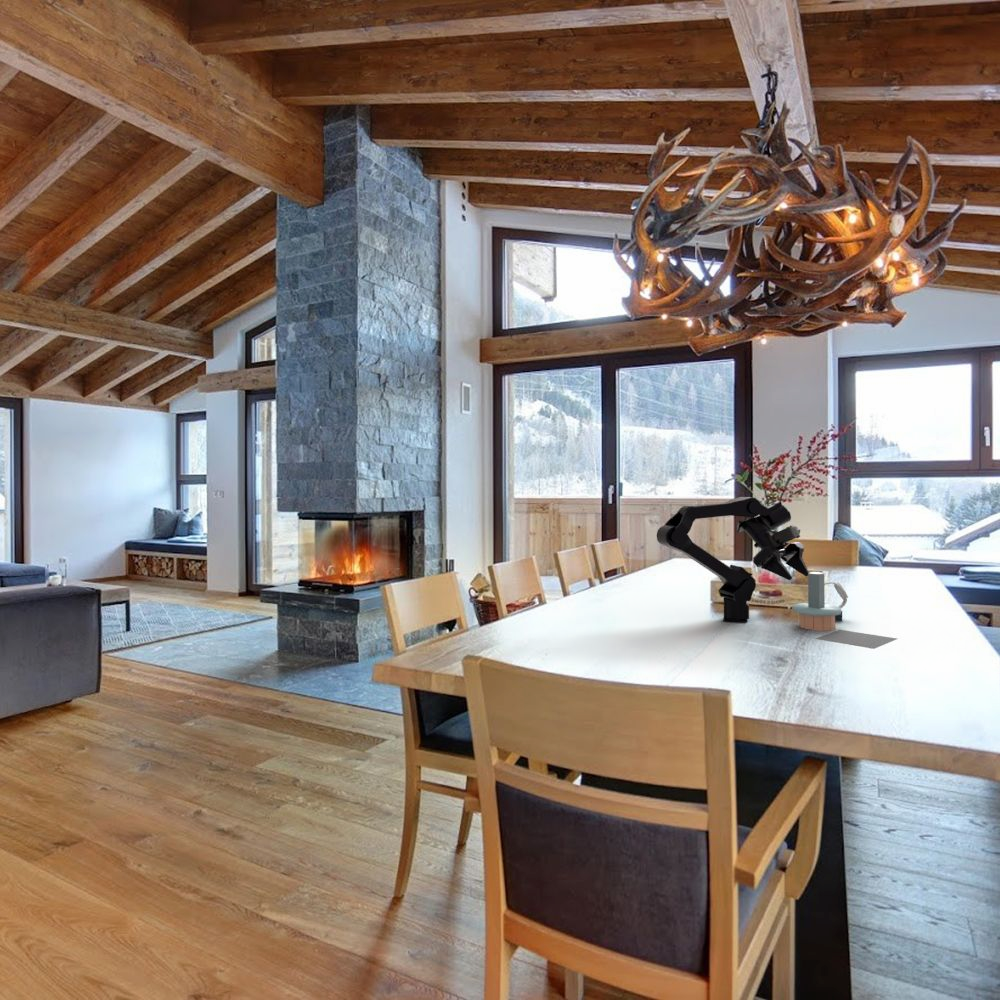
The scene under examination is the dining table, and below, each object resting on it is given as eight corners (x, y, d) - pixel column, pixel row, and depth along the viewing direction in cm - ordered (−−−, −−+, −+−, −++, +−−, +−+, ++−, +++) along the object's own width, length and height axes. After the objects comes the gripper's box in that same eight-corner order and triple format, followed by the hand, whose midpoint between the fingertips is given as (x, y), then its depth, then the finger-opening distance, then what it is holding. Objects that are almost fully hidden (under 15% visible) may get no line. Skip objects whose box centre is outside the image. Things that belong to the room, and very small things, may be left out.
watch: (850, 622, 189) (849, 583, 189) (818, 621, 191) (818, 583, 191) (845, 618, 194) (845, 580, 194) (815, 617, 197) (814, 580, 196)
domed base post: (784, 611, 184) (783, 573, 184) (805, 605, 192) (805, 568, 191) (828, 618, 175) (828, 577, 174) (849, 611, 182) (848, 572, 182)
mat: (814, 640, 170) (815, 638, 170) (840, 631, 179) (840, 629, 179) (874, 650, 159) (873, 648, 159) (897, 640, 168) (897, 638, 168)
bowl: (800, 630, 181) (799, 613, 181) (798, 623, 189) (797, 607, 189) (836, 632, 178) (836, 615, 177) (832, 625, 186) (832, 609, 186)
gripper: (762, 518, 184) (802, 561, 176) (797, 514, 195) (836, 555, 187) (737, 545, 190) (774, 588, 182) (772, 539, 202) (809, 580, 194)
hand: (799, 577), depth 186 cm, fingers open, 9 cm apart
